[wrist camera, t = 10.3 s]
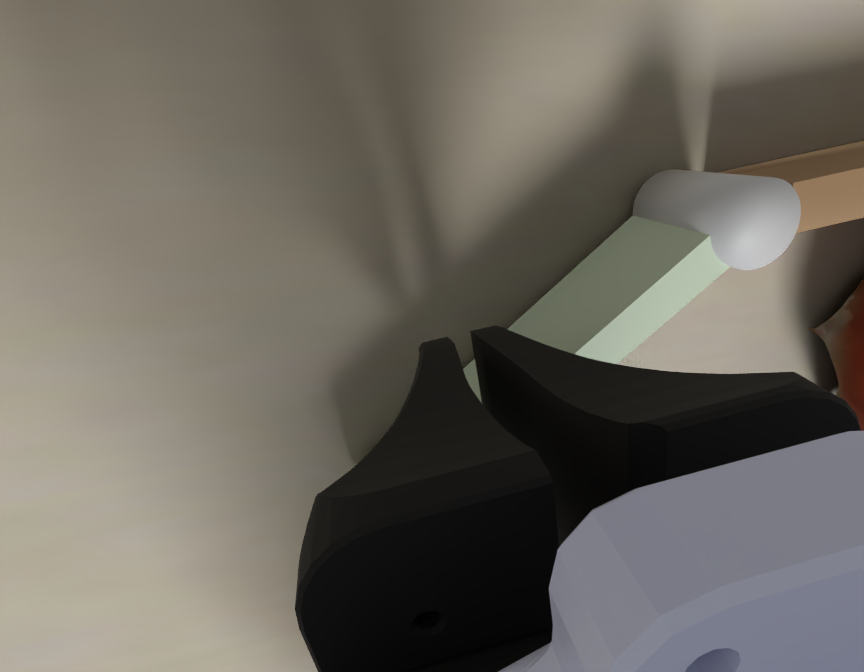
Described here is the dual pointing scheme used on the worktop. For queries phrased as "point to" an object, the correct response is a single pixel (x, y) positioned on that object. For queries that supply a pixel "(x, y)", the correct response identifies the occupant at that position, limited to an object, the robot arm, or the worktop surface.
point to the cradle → (820, 183)
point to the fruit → (848, 349)
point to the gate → (661, 261)
